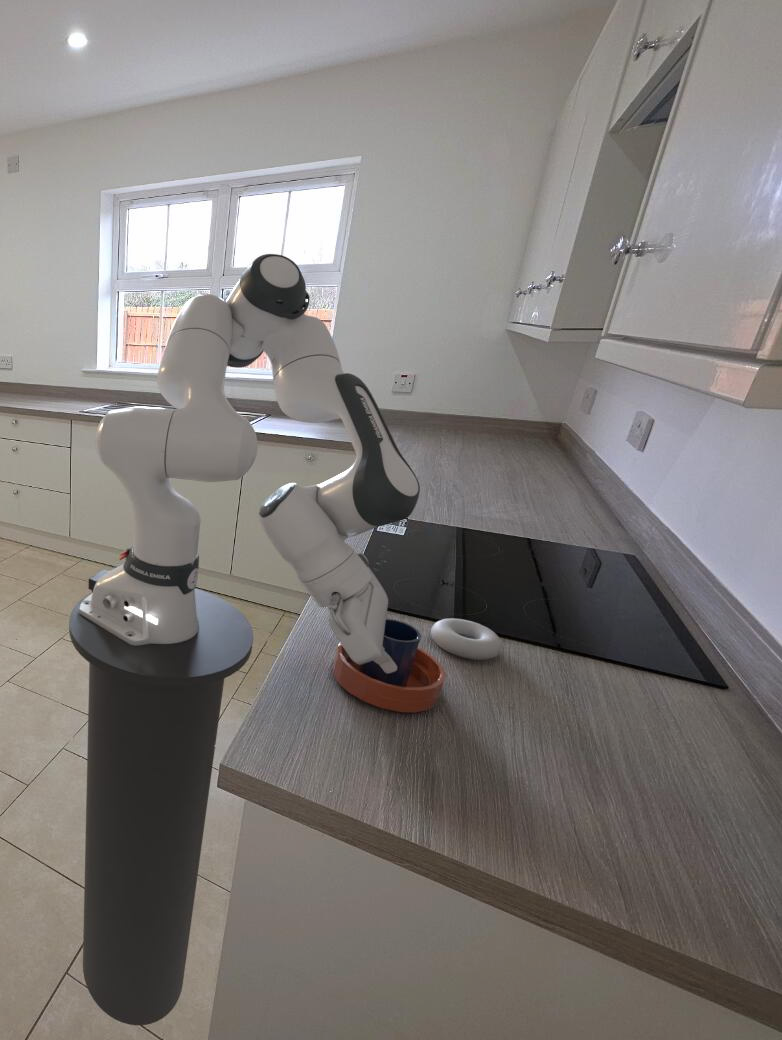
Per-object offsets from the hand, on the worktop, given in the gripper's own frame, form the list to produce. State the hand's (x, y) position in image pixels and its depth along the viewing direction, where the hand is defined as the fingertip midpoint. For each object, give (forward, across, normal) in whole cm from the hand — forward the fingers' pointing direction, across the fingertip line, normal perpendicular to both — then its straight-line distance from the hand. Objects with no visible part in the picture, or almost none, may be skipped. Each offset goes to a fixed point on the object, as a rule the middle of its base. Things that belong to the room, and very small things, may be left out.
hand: (394, 656), depth 84 cm
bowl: (+4, 0, +4) cm, 5 cm away
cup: (+3, 0, +4) cm, 5 cm away
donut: (+11, +18, -4) cm, 22 cm away
